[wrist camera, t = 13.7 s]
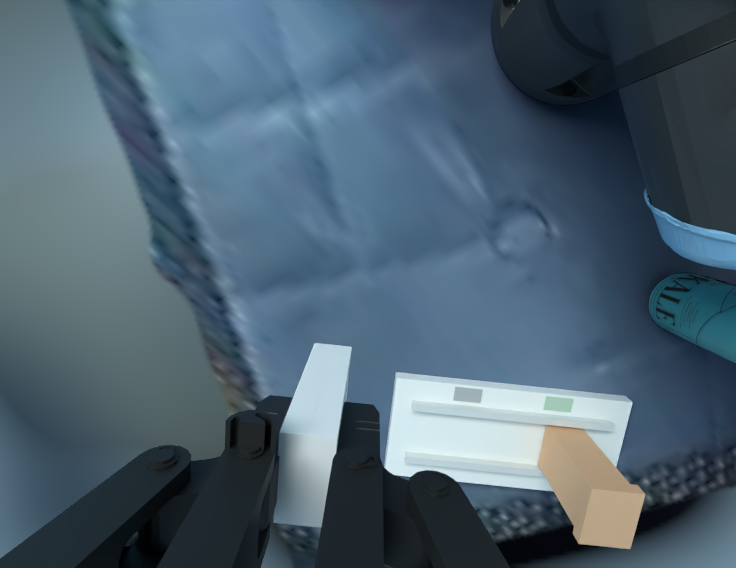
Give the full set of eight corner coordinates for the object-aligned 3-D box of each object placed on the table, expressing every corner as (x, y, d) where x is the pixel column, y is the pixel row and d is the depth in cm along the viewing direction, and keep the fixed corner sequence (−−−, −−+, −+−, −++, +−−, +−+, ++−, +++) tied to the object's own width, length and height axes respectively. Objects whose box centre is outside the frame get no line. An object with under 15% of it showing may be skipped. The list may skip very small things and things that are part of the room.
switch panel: (384, 465, 52) (384, 479, 49) (395, 372, 49) (396, 381, 47) (601, 488, 52) (612, 503, 49) (625, 395, 49) (638, 406, 47)
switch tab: (534, 466, 49) (578, 543, 39) (544, 421, 48) (592, 488, 37) (575, 470, 49) (630, 549, 39) (585, 425, 48) (645, 494, 37)
